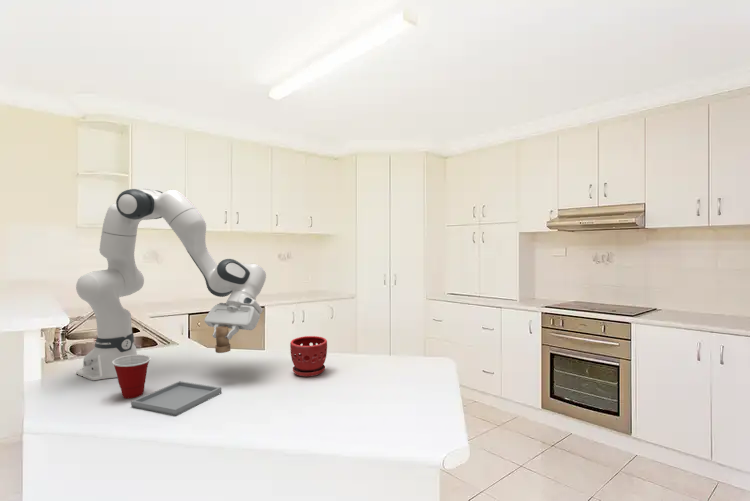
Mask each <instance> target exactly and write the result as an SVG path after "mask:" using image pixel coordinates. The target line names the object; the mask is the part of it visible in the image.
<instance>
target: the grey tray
mask: <svg viewBox="0 0 750 501" xmlns="http://www.w3.org/2000/svg"><path fill="white" fill-rule="evenodd" d="M219 393H220V394H222V387H220V386H214V385H207V384H200V383H194V382H188V381H183V380H182V381H181V380H180V381H176V382H174V383H172V384H169V385H167V386H164V387H162V388H160V389H157V390H155V391H152V392H150V393H148V394H145V395H142V396H139V397H137V398H135V399H134V400H131V402H130V403H131V407H130V408H133V409H134V408H135V409H137V410H144V411H147V412H154V413H159V414H164V415H168V416H173V417H177V416H179V415H181V414H183V413H185V412H186V411H189V410H190V409H193V408H195V407H196V406H199V405H201V404H202V403H205V402H206V400H207V401H208V399H209V400H210V398H211V399H212V397H213V398H215V397H216V396H218V395H220V394H219ZM204 401H205V402H204Z"/></svg>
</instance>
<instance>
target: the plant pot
mask: <svg viewBox="0 0 750 501" xmlns="http://www.w3.org/2000/svg"><path fill="white" fill-rule="evenodd" d="M310 344H312V345H310ZM289 346H290V349H289V350H290V357H291V361H292V364H293V367H292V371H293V373H294V374H295V375H297V376H301V377H306V378H307V377H308V378H309V377H314V376H315V377H316V376H319V375H320V374H322V373H323V372H324V371H325V370H326V365H325V362H326V358H327V355H328V354H327V353H328V340H327V339H326V338H325V337H323V336H315V335H308V336H307V335H305V336H300V337H295V338H293V339H292V340H291V341H290V344H289Z"/></svg>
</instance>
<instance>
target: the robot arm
mask: <svg viewBox="0 0 750 501" xmlns="http://www.w3.org/2000/svg"><path fill="white" fill-rule="evenodd" d="M115 201H116V203H112V204H110V205H109V206H108V208H107V210H106V213H105V216H104V220H103V224H102V227H101V228H102V229H101V236H100V242H99V253H100V255H101V256H102V257H103V258H105V259H106V260H107V261H106V262H107V269H100V270H94V271H92V272H89V273H86V274H83V275H81V276H80V277H79V278H78V279H77V281H76V285H75V288H76V289H75V290H76V293H77V294H78V297H80V299H81V300H83V301H85V302H86V303H88V304H89V306H90V307H91V309H92V311H93V314H94V316H95V322H96V331H97V337H94V338H93V342H95V344H94V347H93V349H91V351H89V352H88V353H87V354H86V355H85V356H84V358H83V361H82V365H83V367H82V368H79V369H78V370H75V371H76V372H75V375H77V374H78V376H81V377H82V376H83V378H85V379H88V380H90V381H99V380H104V379H112V378H113V379H114V378H118V377H117V373H116V370H115V367H114V365H113V363H112V362H113V360H115V359H116V358H119V357H123V356H128V355H138V352H137V347H136V345H135V344H134V342H135V335H134V332H133V328H132V327H133V325H132V315H131V312H130V310H128V309H126V308H124V307H123V305H122V303H121V300H120V298H123V297H127V296H131V295H133V294H134V293H136V292H140V291H141V289H142V288H143V286H144V283H145V278H144V275H143V273H142V271H140V270H139V269H138V267H137V264H136V261H135V251H136V250H135V249H136V240H137V235H138V234H137V233H138V226H139V225H140V223H141V221H148V220H149V221H150V220H158V219H162V218H163V220H164V221H165V222H166V223H167V225H168V226H169V227H170V229H171V230H172V231H173V232H174V233H175V235H176V237H178V239H179V241H180V242H181V243H182V246H183V247H184V248H185V251H186V252H187V253H188V254H189V257H190V258H191V260H192V261H193V263H194V264H195V266H196V267H197V268H198V270H199V271H200V273H201V274H202V276H203V279H204V281H205V284H206V288H207V290H208V291H209V293H211V294H212V295H213V296H215V297H219V298H223V297H227V296H228V299H227V300H226V302H219V303H217V304H215V305H214V306H213V307H212V308H211V309H210V311H209V312H208V313H207V315H206V316H205V317H204V323H205V324H206V325H207V326H208V327H210V328H211V327H212V328H213V330H214V331H213V334H212V335H211V336H212V337H213V339H216V328H217V327H221V326H227V327H228V329H230V331H228V332H229V333H228V332H227V333H226V335H225V338H226V339H229V341H230V340H232V338H233V336H235V335H236V334H237V333H238V332H239V331H240V330H242V331H243V330H245V331H253V330H254V329H255V328H256V327H257V325H258V323H259V321H260V318H261V314H262V313H263V310H264V309H263V308H262V307H261V305H260V303H258V302H257V300H256V299H257V297H258V296H259V295H260V294H261V291H262V289H263V287H264V285H265V282H266V279H267V273H266V270H264V268H263V267H262V266H260V265H259V264H257V263H245V262H239V261H237V260H236V259H234V258H225V259H223V260H220V261H219V262H218V264H217V262H216V260H215V259H214V258H213V256H212V255H211V253H210V252H209V250H208V248H207V243H206V242H207V241H206V236H207V222H206V221H205V219H204V217H203V216H202V214H201V213H200V211H199V210H198V208H197V207H196V205H194V204H193V203H192V202H191V201H190V200H189V198H187V197H186V195H184V194H183V193H182V192H180V191H179V190H177V189H169V190H165V191H164V192H163V191H160V190H154V189H149V188H143V189H142V188H141V189H140V188H138V189H137V188H131V189H127V190H126V189H125V190H124V191H121V192H120V193H119V194H118V196H117V198H116V200H115Z"/></svg>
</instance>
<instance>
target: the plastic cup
mask: <svg viewBox="0 0 750 501" xmlns="http://www.w3.org/2000/svg"><path fill="white" fill-rule="evenodd" d="M151 358H152V357H151V356H149V355H145V354H137V355H128V356H123V357H119V358H116V359H115V360H113V362H112V363H113V365H114V367H115V370H116V373H117V377H116V378H117V381H118V384H119V388H120V391H121V395H122V398H124V399H136V398H140V397H142V396H143V395H144V392H145V384H146V380H147V372H148V367H149V363H150V361H151Z"/></svg>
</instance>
